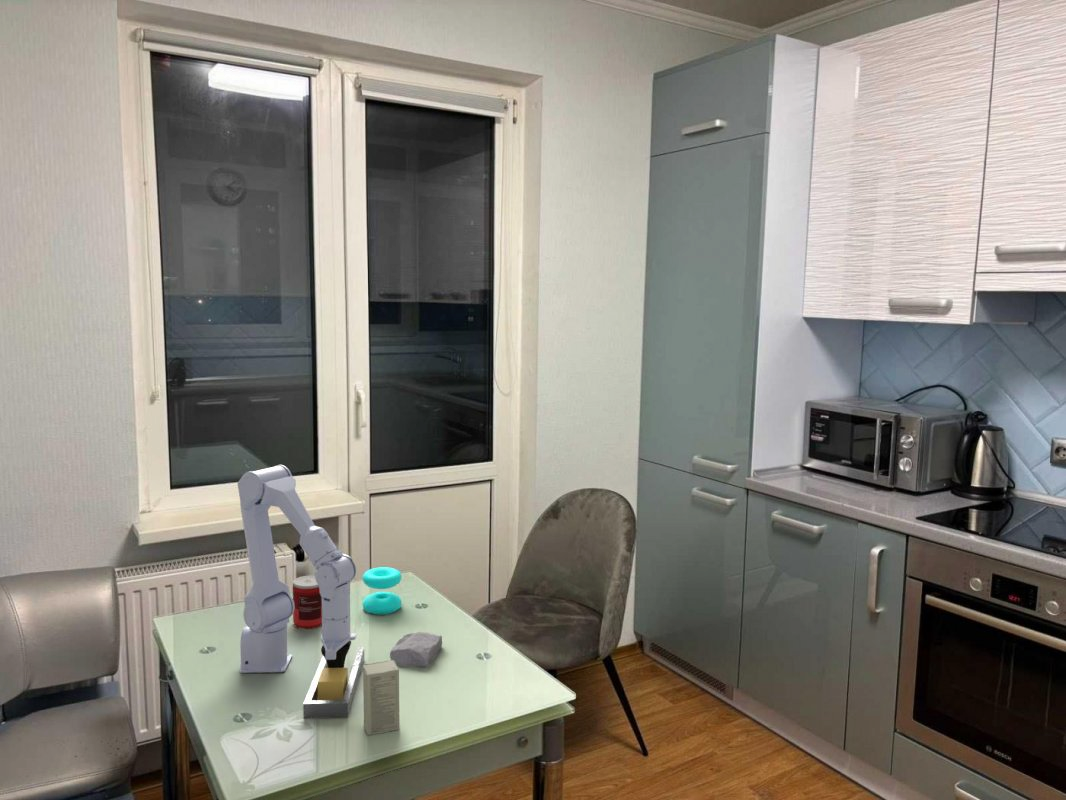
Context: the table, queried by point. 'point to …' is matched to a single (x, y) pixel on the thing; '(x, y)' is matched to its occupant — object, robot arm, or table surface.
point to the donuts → (382, 600)
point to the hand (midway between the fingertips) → (336, 677)
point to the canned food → (307, 603)
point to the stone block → (416, 649)
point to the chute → (333, 707)
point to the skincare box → (381, 697)
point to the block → (332, 683)
